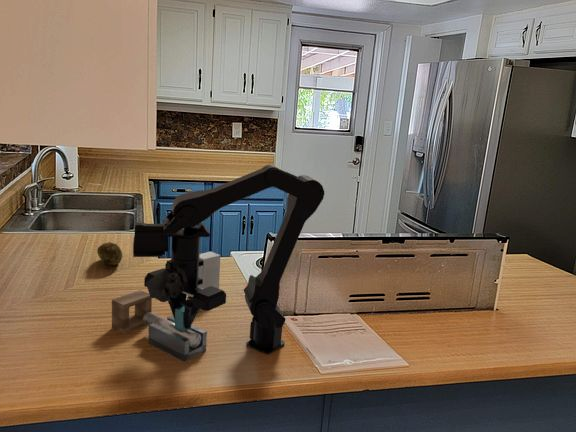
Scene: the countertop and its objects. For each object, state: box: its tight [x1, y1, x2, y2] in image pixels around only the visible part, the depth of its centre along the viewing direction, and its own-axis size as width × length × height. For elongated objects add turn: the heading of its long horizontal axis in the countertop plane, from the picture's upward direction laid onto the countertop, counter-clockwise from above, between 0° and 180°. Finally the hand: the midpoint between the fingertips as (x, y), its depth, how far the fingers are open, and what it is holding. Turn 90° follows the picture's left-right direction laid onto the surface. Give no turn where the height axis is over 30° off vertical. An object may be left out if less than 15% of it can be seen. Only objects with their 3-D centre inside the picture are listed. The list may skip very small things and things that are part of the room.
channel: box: [147, 315, 208, 363], centre depth 105 cm, size 11×6×4 cm, turn 56°
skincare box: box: [197, 251, 221, 289], centre depth 132 cm, size 6×4×12 cm
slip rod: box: [143, 306, 201, 348], centre depth 106 cm, size 15×3×8 cm, turn 56°
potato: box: [96, 241, 123, 266], centre depth 149 cm, size 8×13×8 cm, turn 4°
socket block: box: [111, 289, 153, 335], centre depth 113 cm, size 4×8×7 cm, turn 146°
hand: (182, 325), depth 104 cm, fingers closed on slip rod, 2 cm apart
